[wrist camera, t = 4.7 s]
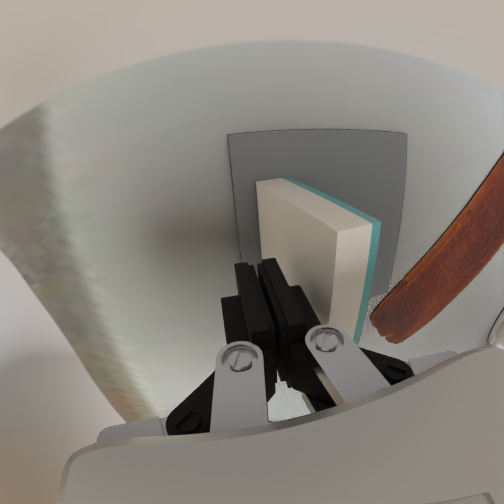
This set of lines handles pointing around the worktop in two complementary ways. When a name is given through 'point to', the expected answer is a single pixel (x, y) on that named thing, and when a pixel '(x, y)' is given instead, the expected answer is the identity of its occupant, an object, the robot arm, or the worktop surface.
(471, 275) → the wooden tablet
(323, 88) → the worktop surface
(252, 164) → the mat
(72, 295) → the worktop surface
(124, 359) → the worktop surface
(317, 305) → the tile
